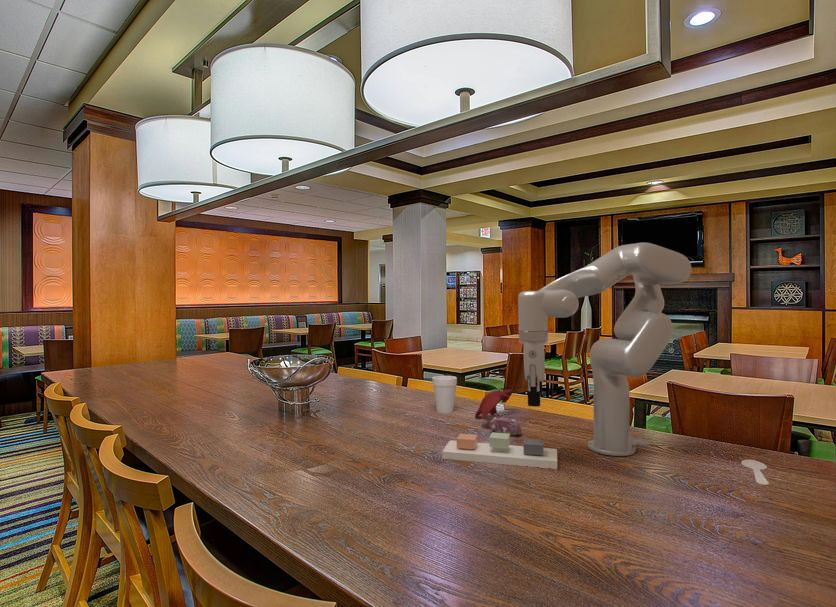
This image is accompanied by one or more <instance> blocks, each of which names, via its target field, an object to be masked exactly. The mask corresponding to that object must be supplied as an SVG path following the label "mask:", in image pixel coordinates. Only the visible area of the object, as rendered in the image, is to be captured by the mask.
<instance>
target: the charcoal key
mask: <svg viewBox="0 0 836 607" xmlns="http://www.w3.org/2000/svg"><path fill="white" fill-rule="evenodd" d="M523 446H524V454H535V455H543V450H544V448H545V447H544V439H537V438H535V439H534V438H524V441H523Z"/></svg>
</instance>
